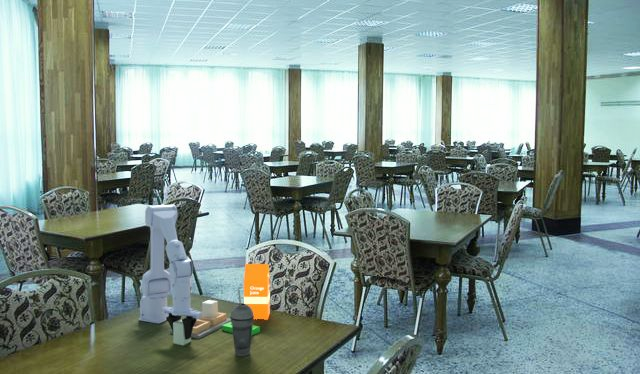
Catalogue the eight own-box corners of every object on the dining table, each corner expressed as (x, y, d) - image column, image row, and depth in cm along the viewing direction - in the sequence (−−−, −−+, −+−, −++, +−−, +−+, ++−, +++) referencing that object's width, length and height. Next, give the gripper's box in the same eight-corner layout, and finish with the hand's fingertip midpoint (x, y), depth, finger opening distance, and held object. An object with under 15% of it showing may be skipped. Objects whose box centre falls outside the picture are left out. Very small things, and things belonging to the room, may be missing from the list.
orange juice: (267, 319, 212) (267, 266, 210) (243, 319, 212) (243, 266, 210) (270, 313, 220) (269, 261, 218) (246, 313, 220) (246, 261, 218)
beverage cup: (244, 359, 174) (243, 294, 172) (225, 354, 178) (224, 290, 176) (259, 351, 180) (258, 289, 178) (240, 347, 184) (240, 285, 182)
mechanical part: (259, 332, 199) (259, 309, 198) (248, 337, 194) (248, 314, 193) (233, 326, 205) (233, 304, 205) (221, 330, 200) (221, 308, 200)
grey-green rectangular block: (202, 321, 206) (201, 302, 206) (208, 318, 210) (208, 299, 209) (211, 323, 204) (211, 304, 204) (217, 320, 208) (217, 301, 208)
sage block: (173, 343, 187) (173, 322, 187) (181, 339, 191) (180, 318, 190) (183, 345, 186) (183, 324, 185) (191, 341, 189) (190, 320, 189)
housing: (170, 333, 196) (170, 325, 196) (205, 317, 215) (205, 309, 214) (199, 338, 192) (199, 330, 191) (232, 321, 210) (232, 313, 209)
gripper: (155, 297, 186) (156, 338, 187) (192, 302, 180) (192, 344, 181) (169, 291, 193) (170, 331, 194) (205, 296, 187) (206, 337, 188)
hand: (182, 337), depth 188 cm, fingers closed on sage block, 4 cm apart
